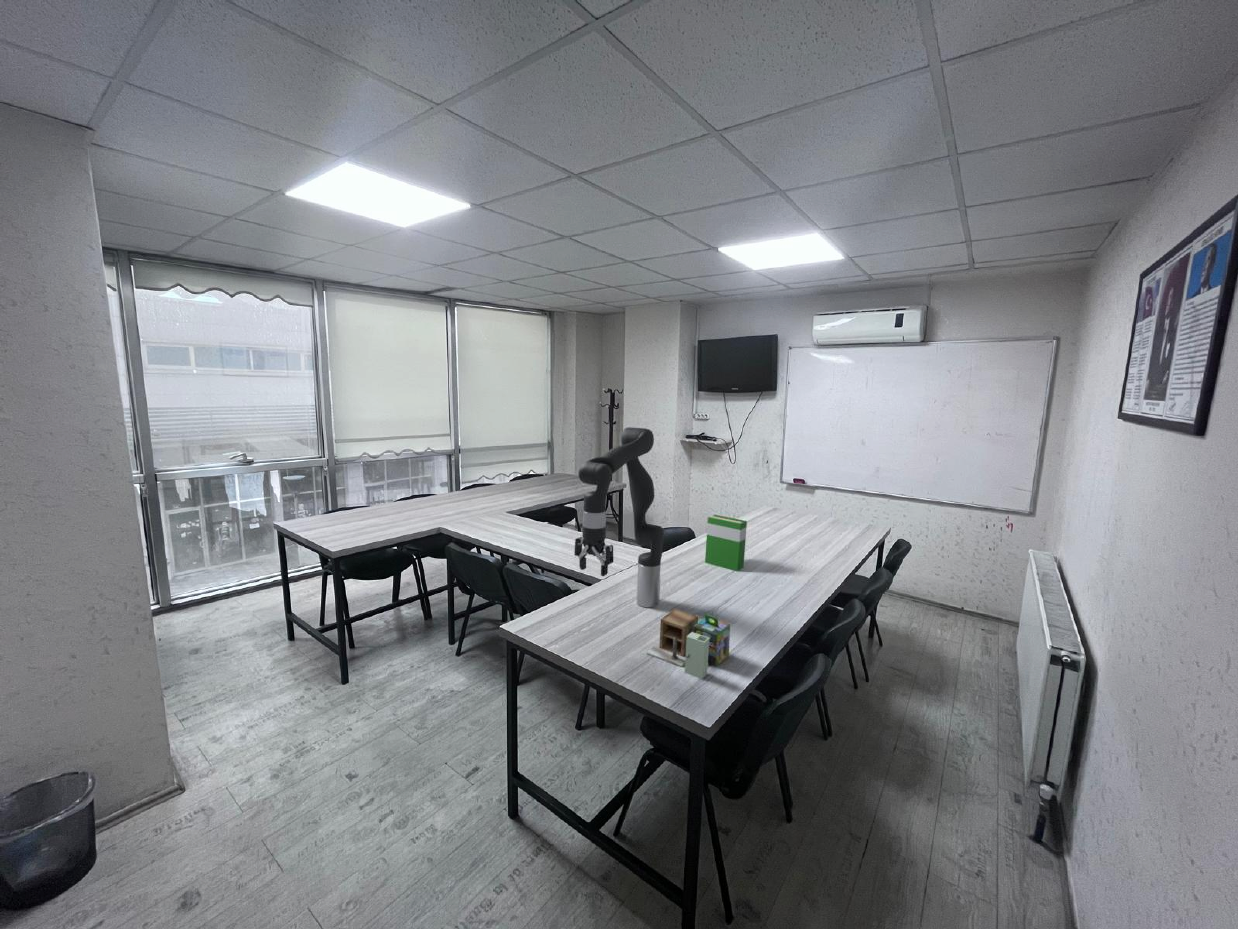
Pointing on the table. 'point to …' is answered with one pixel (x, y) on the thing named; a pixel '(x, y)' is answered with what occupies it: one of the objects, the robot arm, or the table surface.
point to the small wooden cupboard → (674, 637)
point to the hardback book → (726, 542)
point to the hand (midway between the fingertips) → (593, 572)
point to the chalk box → (715, 638)
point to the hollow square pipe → (696, 655)
